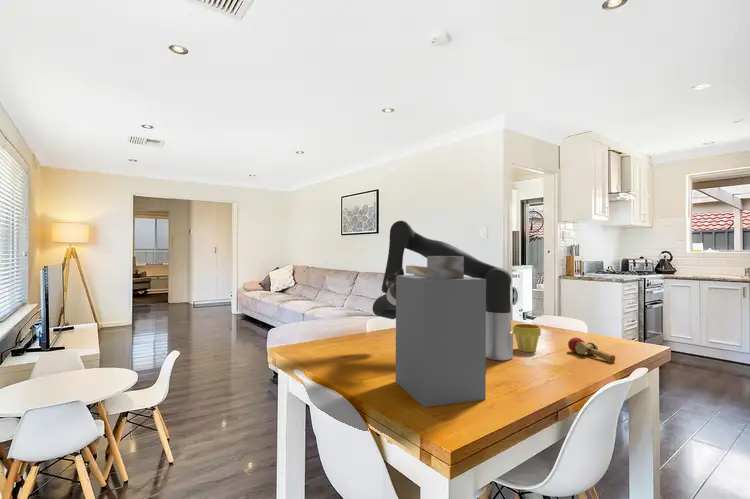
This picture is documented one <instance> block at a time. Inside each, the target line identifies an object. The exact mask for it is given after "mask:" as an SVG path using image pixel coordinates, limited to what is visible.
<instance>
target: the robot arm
mask: <svg viewBox="0 0 750 499" xmlns="http://www.w3.org/2000/svg"><path fill="white" fill-rule="evenodd" d="M405 249H407V250H408V251H409V250H410V251H411V252H415V253H417V254H419V255H421V256H422V257H424V258H425V259H427V256H464V276H466V277H472V278H480V279H486V359H489V360H491V361H492V360H493V361H509V360H511V359H513V358H514V333H513V331H511V330H512V329H511V327H512V324H511V323H512V322H511V321H512V315H511V314H512V313H511V312H512V309H511V308H512V304H511V285H512V276H511V274H510V272H508V271H507V270H506V269H504V268H502V267H498V266H496V265H492V264H490V263H487V262H484V261H482V260H479V259H478V258H476V257H475V256H473V255H471V254H470V253H468V252H466V251H464V250H462V249H461V248H458V247H457V246H454V245H451V244H449V243H447V242H444V241H442V240H436V239H431V238H428V237H425V236H423V235H421V234H420V233H419V232H416V231H414V229H413V228H412V226H411V225H410V224H409V223H408V222H407V221H405V220H398V221H395V222H394V223H392V225H391V227H390V230H389V244H388V255H387V262H386V267H385V272H384V276H383V280H382V284H381V292H382V293H384V294H383V295H381V296H379V297H377V298H376V299H375V300H374V302H373V305H372V313H373V314H374V315H375V316H377V317H381V318H385V319H390V320H396V275H405V271H404V267H403V264H404V263H403V262H404V261H403V260H404V254H405Z"/></svg>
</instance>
